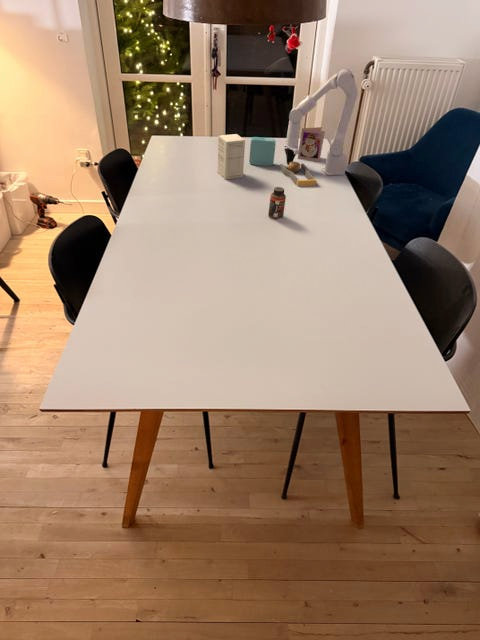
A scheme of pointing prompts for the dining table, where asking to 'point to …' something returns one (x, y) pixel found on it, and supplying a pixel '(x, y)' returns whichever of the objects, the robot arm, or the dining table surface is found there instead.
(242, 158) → the supplement box
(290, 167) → the tan rounded capsule
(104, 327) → the dining table surface
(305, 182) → the keyhole track
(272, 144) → the data package
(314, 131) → the greeting card
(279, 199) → the supplement bottle
